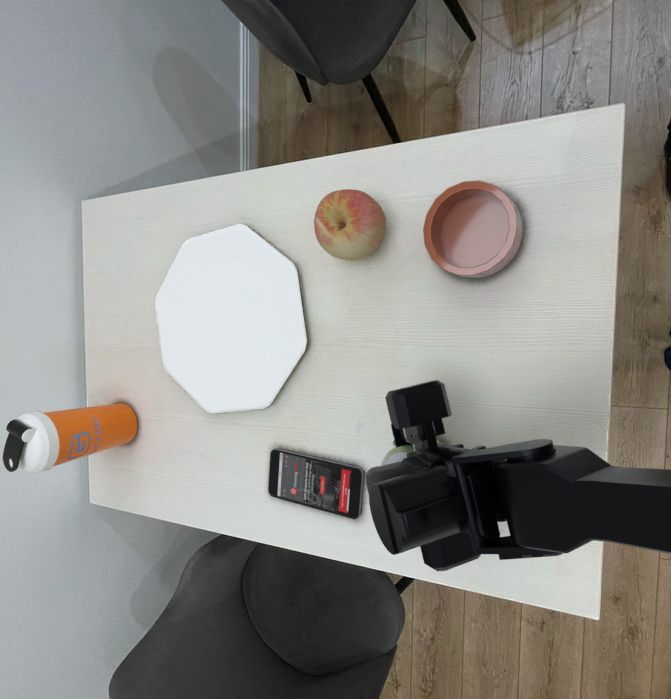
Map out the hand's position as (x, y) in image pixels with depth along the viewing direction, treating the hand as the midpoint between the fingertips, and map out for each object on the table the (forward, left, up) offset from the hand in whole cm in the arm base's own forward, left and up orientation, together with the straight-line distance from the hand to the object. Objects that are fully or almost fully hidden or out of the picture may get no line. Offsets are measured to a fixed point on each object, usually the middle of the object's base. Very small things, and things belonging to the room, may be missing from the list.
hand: (402, 466), depth 64 cm
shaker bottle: (+53, +13, -7) cm, 55 cm away
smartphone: (+14, +9, -7) cm, 18 cm away
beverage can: (-1, -1, -7) cm, 7 cm away
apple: (+15, -27, -7) cm, 31 cm away
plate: (+34, -10, -7) cm, 36 cm away
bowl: (0, -29, -7) cm, 29 cm away
